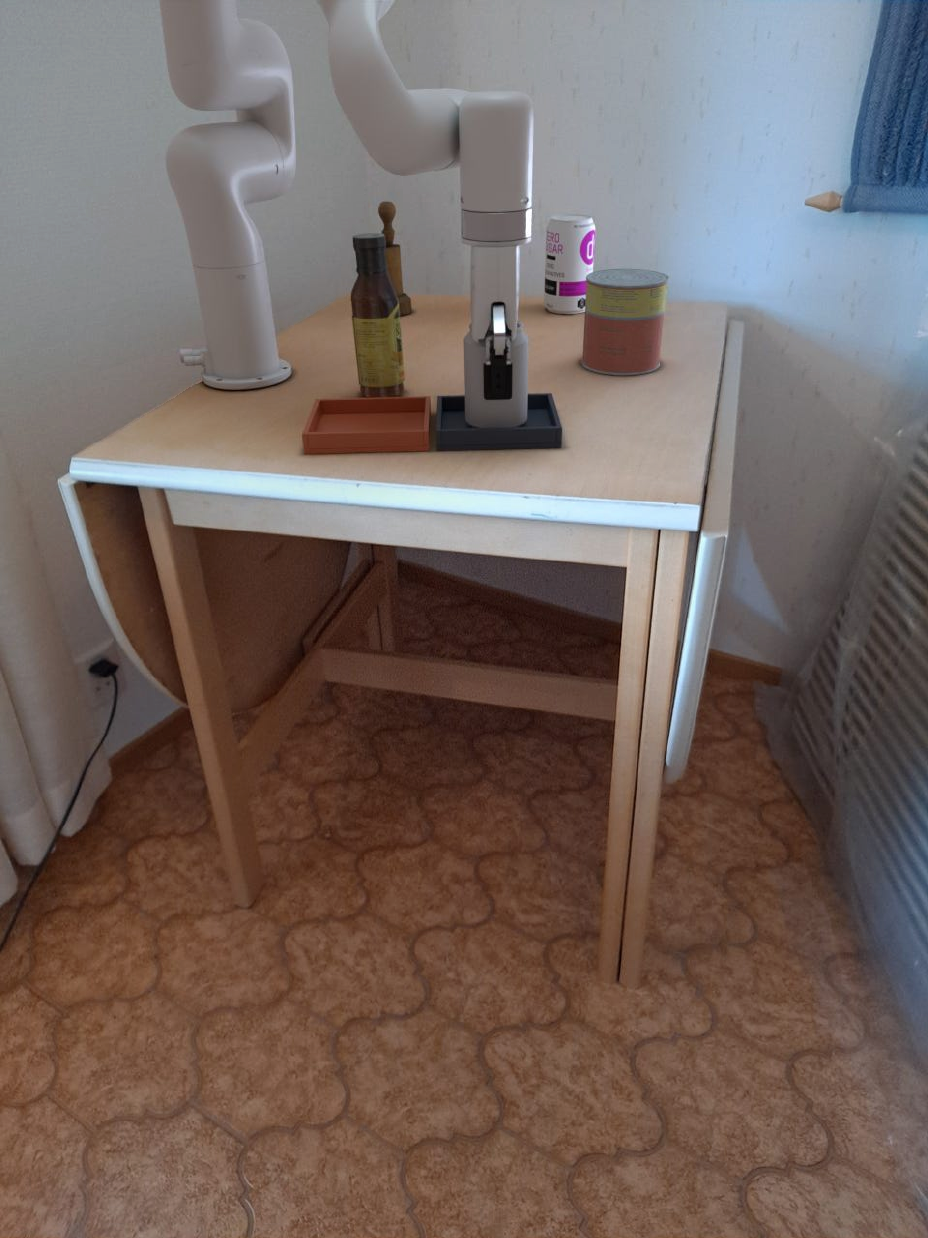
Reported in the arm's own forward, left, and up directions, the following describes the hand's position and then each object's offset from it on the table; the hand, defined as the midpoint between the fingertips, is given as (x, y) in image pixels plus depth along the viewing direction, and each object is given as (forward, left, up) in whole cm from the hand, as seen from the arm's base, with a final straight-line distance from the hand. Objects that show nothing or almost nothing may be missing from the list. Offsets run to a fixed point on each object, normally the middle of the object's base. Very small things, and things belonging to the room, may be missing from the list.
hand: (496, 385), depth 101 cm
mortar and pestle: (-16, +59, -6) cm, 62 cm away
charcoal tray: (0, 0, -6) cm, 6 cm away
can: (0, 0, -5) cm, 5 cm away
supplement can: (+15, +58, -6) cm, 61 cm away
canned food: (+19, +25, -6) cm, 32 cm away
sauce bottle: (-15, +14, -6) cm, 21 cm away
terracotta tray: (-15, 0, -6) cm, 16 cm away
